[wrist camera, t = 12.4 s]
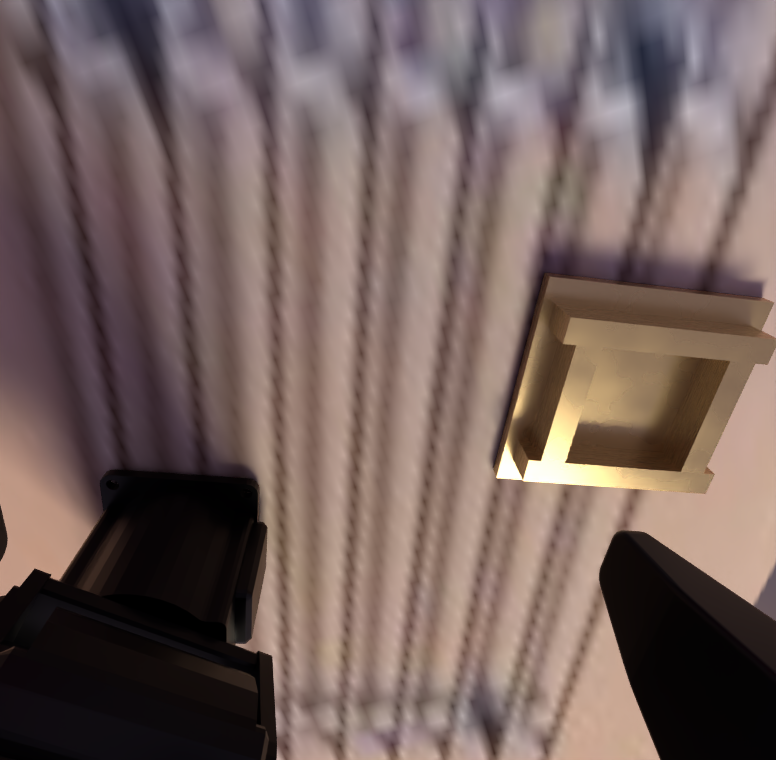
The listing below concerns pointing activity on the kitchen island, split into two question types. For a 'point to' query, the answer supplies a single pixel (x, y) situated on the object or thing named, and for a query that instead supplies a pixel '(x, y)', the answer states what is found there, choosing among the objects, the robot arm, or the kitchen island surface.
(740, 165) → the kitchen island surface
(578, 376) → the brass square tray
